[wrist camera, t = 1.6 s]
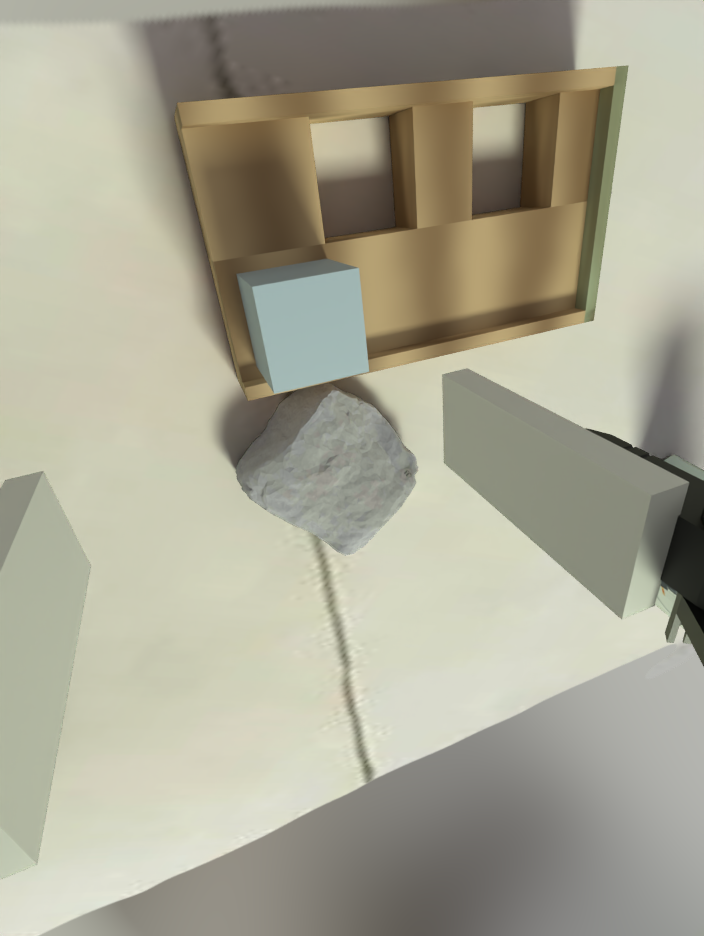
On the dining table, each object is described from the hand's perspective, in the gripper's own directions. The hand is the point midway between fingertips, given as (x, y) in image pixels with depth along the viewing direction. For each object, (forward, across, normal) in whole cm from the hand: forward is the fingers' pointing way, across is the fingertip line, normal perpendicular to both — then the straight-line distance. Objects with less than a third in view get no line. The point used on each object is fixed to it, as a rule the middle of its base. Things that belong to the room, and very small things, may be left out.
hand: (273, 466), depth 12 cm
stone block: (+20, +6, -11) cm, 24 cm away
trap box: (+20, +13, +3) cm, 24 cm away
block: (+17, +4, 0) cm, 17 cm away
